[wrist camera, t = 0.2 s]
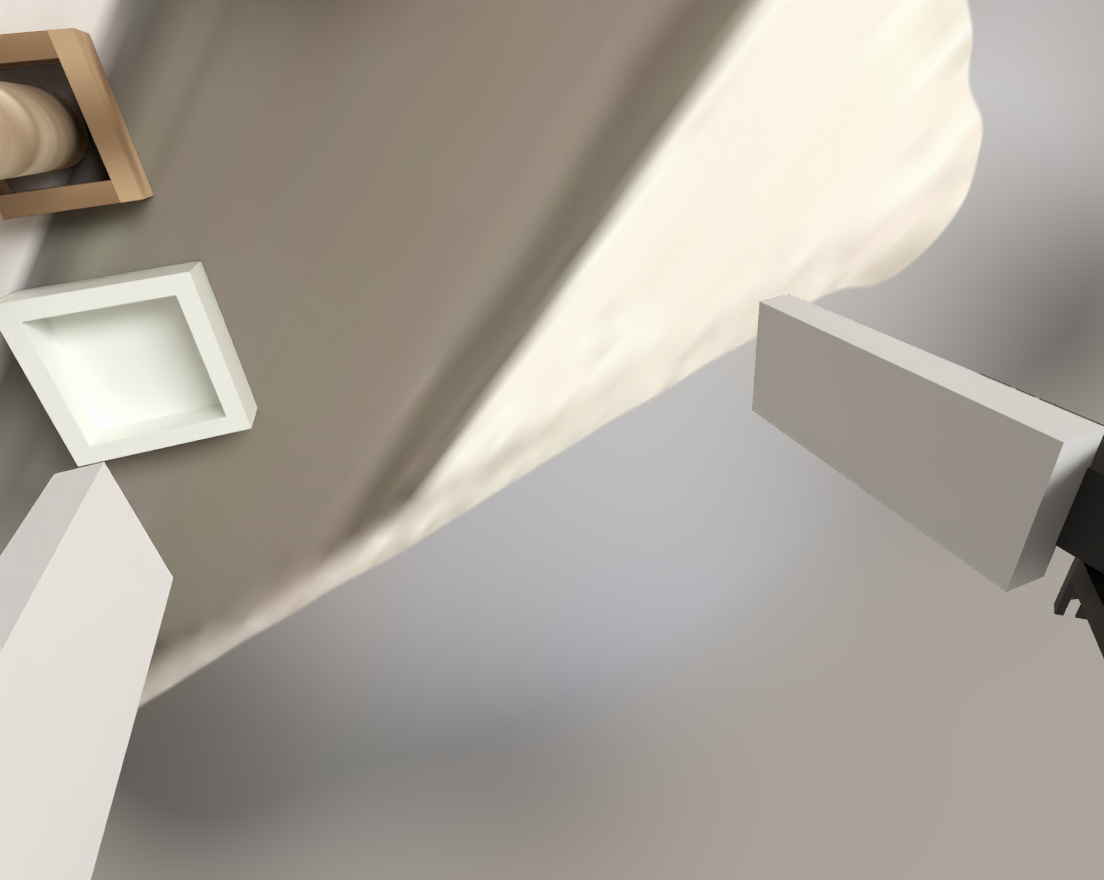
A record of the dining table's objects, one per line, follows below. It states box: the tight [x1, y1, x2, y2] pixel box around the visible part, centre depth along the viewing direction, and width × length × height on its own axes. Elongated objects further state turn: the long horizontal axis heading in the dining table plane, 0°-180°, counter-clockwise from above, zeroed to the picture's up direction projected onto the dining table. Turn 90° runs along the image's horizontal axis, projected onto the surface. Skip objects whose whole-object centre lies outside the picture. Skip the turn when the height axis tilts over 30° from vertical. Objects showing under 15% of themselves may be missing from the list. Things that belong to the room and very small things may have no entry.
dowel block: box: [0, 28, 153, 220], centre depth 28 cm, size 7×7×2 cm
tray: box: [0, 261, 257, 466], centre depth 34 cm, size 9×9×3 cm
